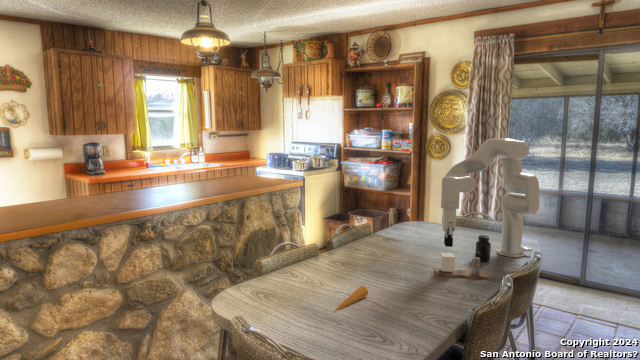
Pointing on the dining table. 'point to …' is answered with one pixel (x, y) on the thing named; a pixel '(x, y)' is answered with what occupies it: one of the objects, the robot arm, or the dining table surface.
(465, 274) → the post strip
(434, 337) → the dining table surface
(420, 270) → the dining table surface
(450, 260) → the cream rectangular block
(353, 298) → the carrot
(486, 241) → the supplement bottle
